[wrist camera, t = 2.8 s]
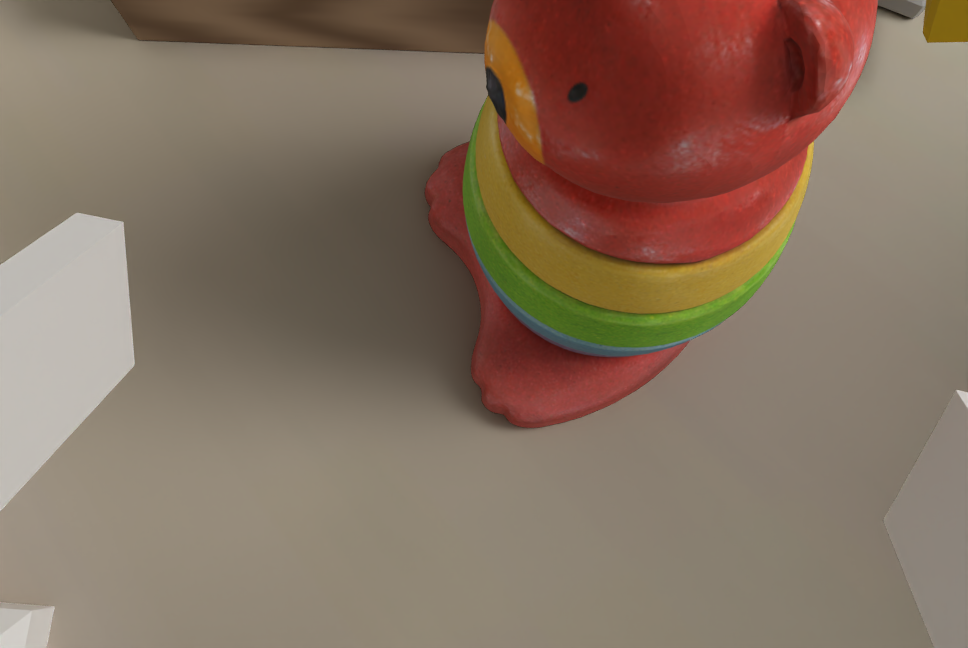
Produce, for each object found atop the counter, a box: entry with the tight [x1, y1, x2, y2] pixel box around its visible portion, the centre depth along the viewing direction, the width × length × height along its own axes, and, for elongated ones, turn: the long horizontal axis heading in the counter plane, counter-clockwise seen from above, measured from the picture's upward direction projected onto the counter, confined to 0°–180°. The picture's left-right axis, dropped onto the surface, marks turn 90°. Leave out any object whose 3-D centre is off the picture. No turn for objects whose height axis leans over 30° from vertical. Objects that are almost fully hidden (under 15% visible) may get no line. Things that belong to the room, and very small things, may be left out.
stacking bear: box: [425, 0, 878, 428], centre depth 22 cm, size 11×10×18 cm
